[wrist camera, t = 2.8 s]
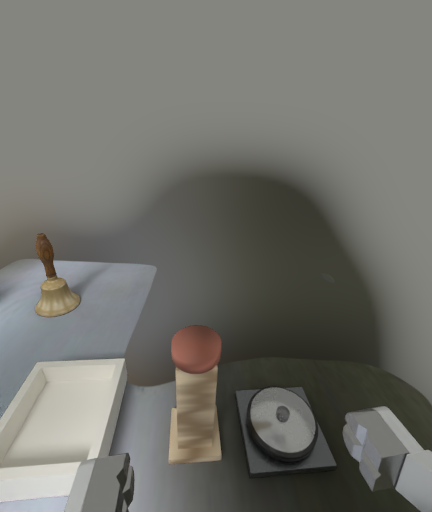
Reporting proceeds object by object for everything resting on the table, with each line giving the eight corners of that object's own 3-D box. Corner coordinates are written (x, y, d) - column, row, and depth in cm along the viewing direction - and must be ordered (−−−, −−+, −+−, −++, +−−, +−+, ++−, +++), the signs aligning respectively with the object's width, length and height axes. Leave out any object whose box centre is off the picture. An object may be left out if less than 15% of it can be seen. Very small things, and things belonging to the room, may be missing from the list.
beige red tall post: (168, 464, 29) (163, 368, 23) (171, 413, 35) (168, 323, 28) (220, 460, 30) (230, 365, 23) (215, 410, 35) (222, 321, 29)
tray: (-27, 504, 26) (-42, 483, 24) (44, 381, 38) (37, 362, 36) (99, 492, 27) (93, 472, 25) (127, 377, 39) (125, 358, 38)
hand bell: (88, 296, 58) (75, 228, 51) (63, 320, 50) (43, 245, 43) (54, 291, 59) (36, 224, 52) (25, 314, 51) (-1, 240, 44)
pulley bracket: (249, 478, 29) (253, 461, 27) (235, 395, 38) (237, 379, 36) (334, 470, 30) (342, 453, 28) (300, 391, 39) (305, 375, 37)
